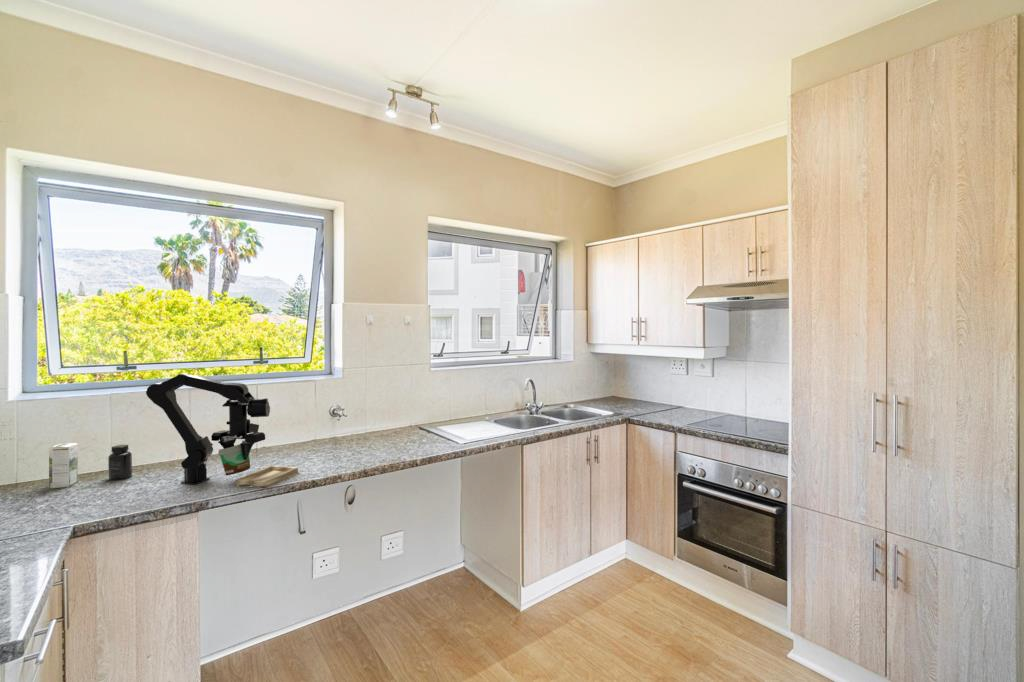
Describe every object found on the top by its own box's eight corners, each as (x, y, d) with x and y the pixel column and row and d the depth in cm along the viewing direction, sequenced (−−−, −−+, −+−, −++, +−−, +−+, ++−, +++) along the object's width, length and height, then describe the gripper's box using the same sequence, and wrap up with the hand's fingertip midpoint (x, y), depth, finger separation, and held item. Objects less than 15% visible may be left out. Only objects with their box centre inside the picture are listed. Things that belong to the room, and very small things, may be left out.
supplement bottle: (136, 475, 177) (136, 444, 177) (117, 481, 171) (116, 448, 170) (123, 474, 179) (123, 443, 179) (103, 479, 173) (103, 447, 172)
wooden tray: (235, 485, 166) (235, 480, 166) (271, 470, 184) (271, 465, 184) (265, 488, 164) (265, 482, 164) (298, 472, 182) (298, 467, 182)
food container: (237, 475, 168) (231, 448, 167) (222, 476, 169) (217, 450, 168) (261, 464, 180) (256, 438, 179) (247, 465, 181) (243, 440, 181)
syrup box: (57, 483, 168) (56, 443, 168) (78, 481, 170) (77, 442, 170) (48, 488, 163) (47, 447, 162) (70, 486, 165) (69, 446, 164)
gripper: (275, 414, 180) (275, 455, 180) (233, 412, 183) (233, 452, 184) (253, 420, 169) (254, 463, 169) (209, 418, 172) (210, 460, 173)
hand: (238, 459), depth 174 cm, fingers closed on food container, 5 cm apart
